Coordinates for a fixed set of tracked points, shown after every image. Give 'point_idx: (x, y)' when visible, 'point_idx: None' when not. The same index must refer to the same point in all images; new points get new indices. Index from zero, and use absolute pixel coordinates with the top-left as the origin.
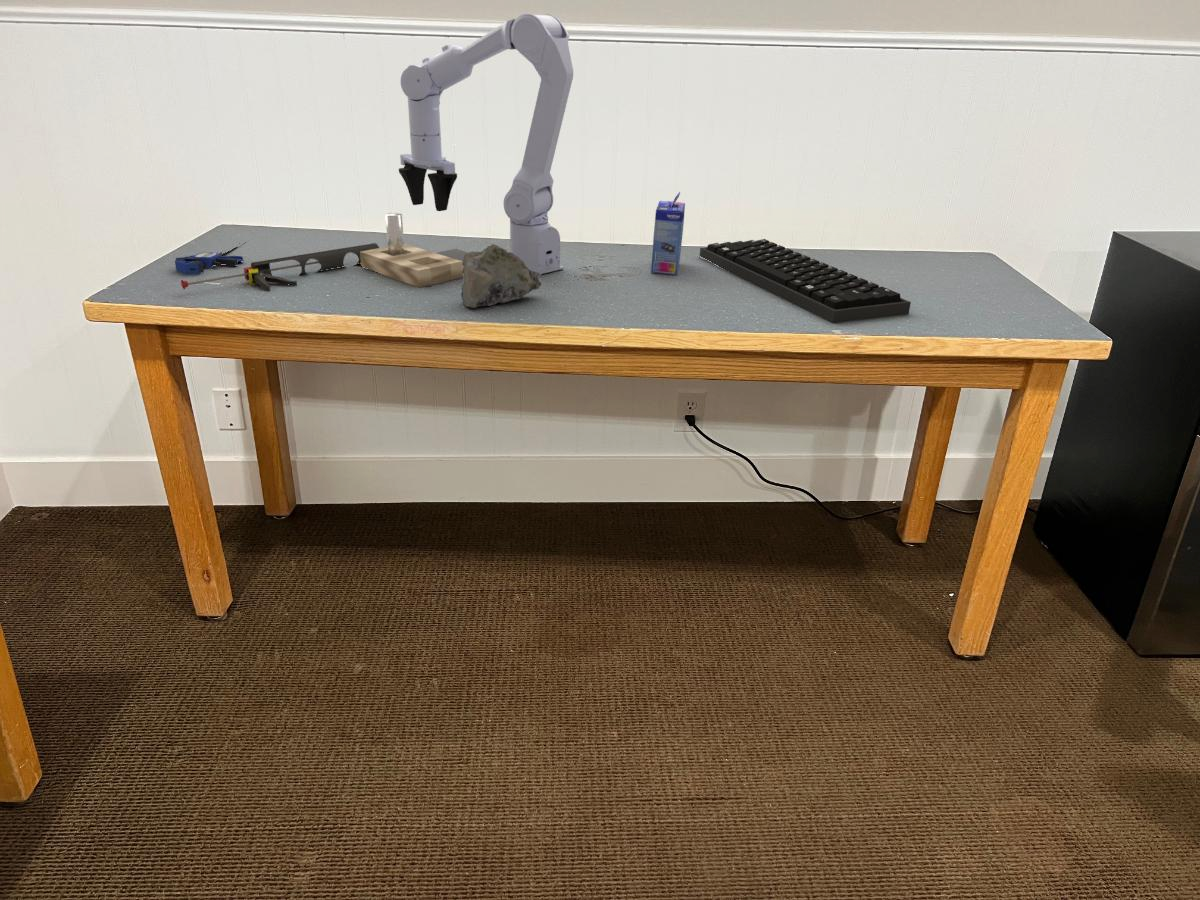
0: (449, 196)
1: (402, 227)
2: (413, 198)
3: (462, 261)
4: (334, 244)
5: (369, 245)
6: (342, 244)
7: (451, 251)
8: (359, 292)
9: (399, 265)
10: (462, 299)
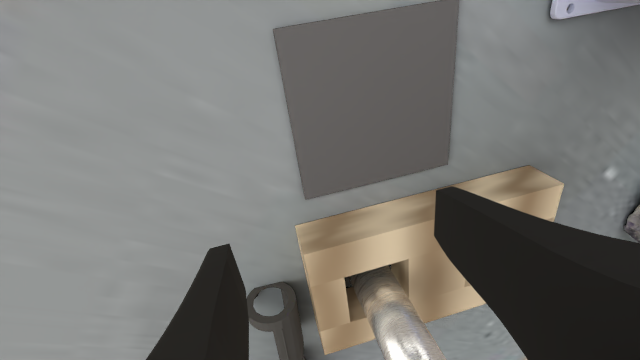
0: (520, 211)
1: (430, 336)
2: (247, 324)
3: (435, 103)
4: (16, 345)
5: (286, 335)
6: (22, 328)
7: (305, 69)
8: (457, 341)
9: (474, 305)
10: (629, 234)
